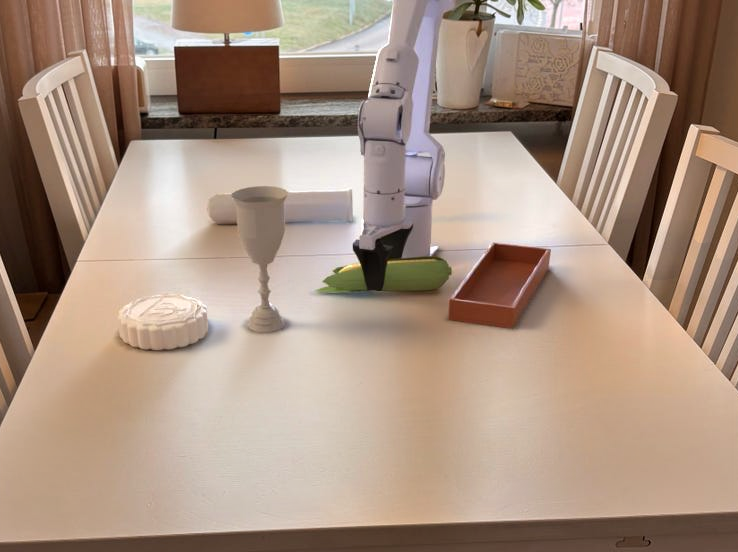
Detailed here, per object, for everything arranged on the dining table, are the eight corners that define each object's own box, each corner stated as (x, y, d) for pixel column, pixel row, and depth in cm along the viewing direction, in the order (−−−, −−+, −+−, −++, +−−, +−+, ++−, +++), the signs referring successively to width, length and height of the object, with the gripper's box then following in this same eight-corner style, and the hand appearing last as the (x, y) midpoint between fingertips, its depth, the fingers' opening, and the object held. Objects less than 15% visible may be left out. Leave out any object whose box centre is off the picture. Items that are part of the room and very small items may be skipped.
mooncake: (184, 356, 134) (181, 330, 132) (103, 344, 137) (99, 319, 135) (223, 320, 143) (221, 296, 141) (146, 310, 147) (143, 286, 145)
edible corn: (453, 294, 150) (454, 264, 147) (315, 300, 149) (315, 270, 146) (446, 281, 154) (448, 251, 152) (313, 287, 153) (312, 257, 150)
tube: (204, 205, 174) (352, 201, 173) (206, 186, 177) (351, 182, 177) (207, 231, 178) (352, 227, 178) (209, 212, 181) (351, 208, 181)
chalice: (252, 339, 138) (244, 205, 128) (231, 321, 143) (222, 191, 133) (301, 328, 141) (297, 196, 131) (279, 311, 146) (274, 183, 136)
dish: (448, 319, 142) (449, 299, 140) (491, 261, 161) (492, 242, 159) (512, 328, 139) (514, 308, 138) (548, 268, 158) (550, 248, 156)
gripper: (394, 206, 136) (392, 303, 144) (427, 176, 147) (423, 267, 155) (344, 201, 139) (345, 296, 146) (380, 172, 150) (379, 262, 157)
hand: (382, 281), depth 151 cm, fingers closed on edible corn, 6 cm apart
